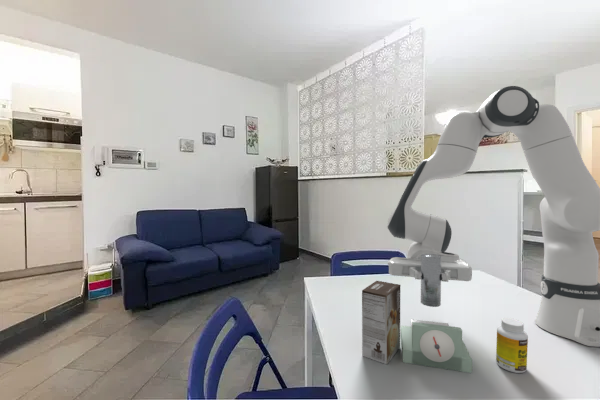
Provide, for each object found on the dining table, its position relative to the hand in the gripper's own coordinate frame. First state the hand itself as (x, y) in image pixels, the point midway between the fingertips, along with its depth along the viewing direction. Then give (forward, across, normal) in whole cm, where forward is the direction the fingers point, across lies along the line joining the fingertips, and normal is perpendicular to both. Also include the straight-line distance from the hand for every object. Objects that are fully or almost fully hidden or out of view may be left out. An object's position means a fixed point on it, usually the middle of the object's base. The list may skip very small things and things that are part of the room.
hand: (431, 277), depth 71 cm
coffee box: (+5, -12, +18) cm, 22 cm away
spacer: (-1, 0, +7) cm, 7 cm away
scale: (+2, 0, +18) cm, 18 cm away
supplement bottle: (+3, +16, +18) cm, 24 cm away
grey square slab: (0, 0, +15) cm, 15 cm away
